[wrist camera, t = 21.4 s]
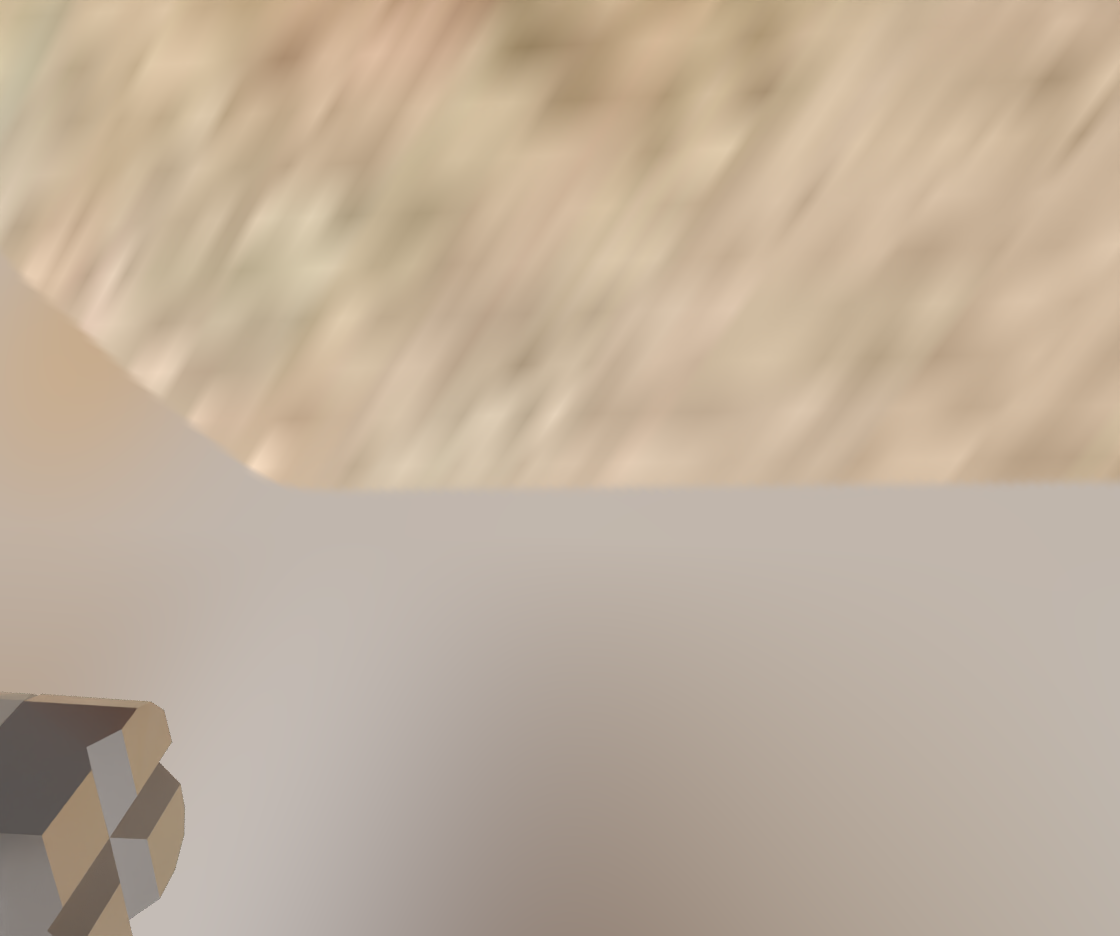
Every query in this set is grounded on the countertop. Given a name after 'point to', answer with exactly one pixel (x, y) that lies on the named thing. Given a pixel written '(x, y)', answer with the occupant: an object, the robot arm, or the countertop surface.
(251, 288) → the countertop surface
